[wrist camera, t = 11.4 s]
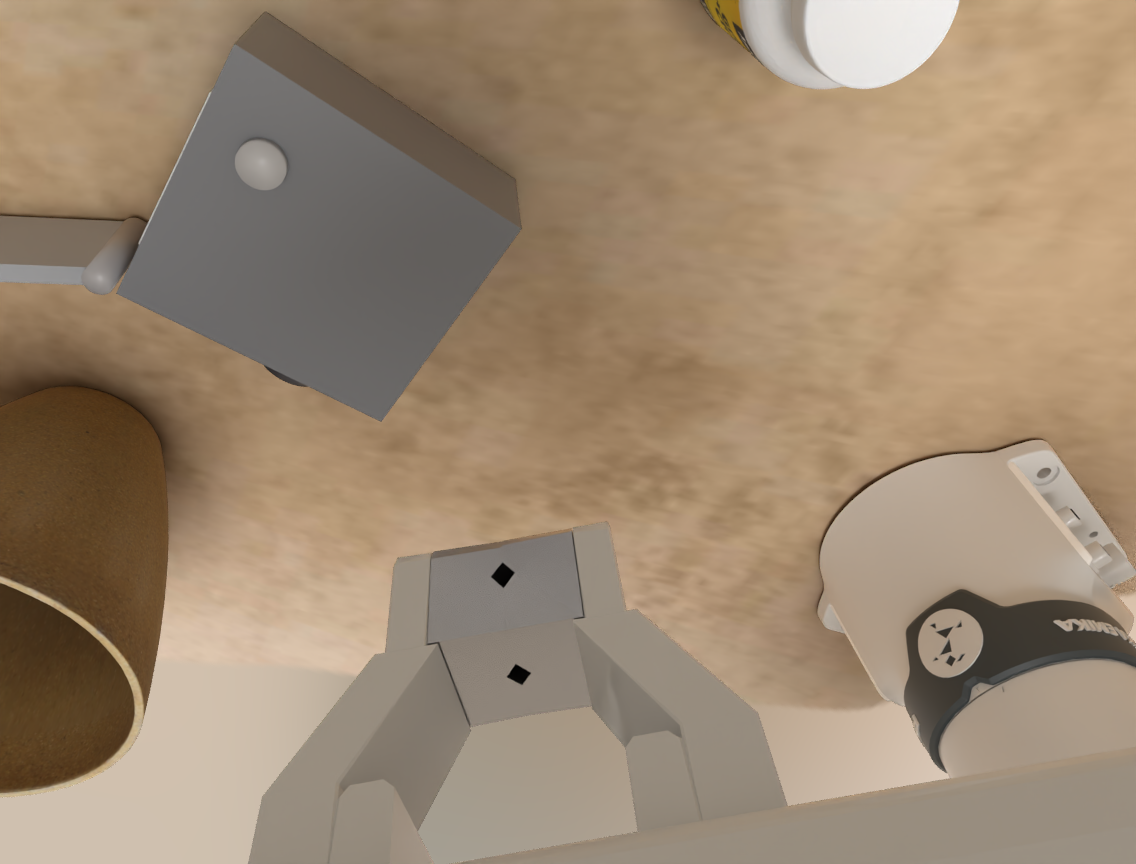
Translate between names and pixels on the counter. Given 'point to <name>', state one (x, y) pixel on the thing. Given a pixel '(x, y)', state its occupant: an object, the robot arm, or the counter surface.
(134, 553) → the plant pot
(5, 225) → the side door
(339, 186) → the box
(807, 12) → the pill bottle
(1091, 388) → the counter surface
